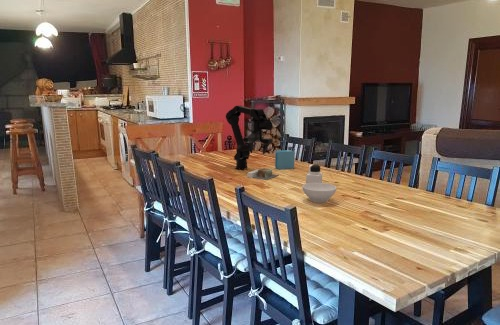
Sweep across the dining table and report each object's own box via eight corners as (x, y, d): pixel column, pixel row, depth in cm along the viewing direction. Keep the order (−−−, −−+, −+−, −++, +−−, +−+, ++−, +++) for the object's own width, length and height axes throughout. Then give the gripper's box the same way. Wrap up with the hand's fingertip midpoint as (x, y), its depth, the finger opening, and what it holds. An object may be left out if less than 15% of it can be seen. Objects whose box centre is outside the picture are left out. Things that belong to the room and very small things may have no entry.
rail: (247, 177, 229) (247, 172, 228) (261, 172, 242) (261, 168, 241) (251, 178, 227) (251, 173, 227) (265, 173, 240) (265, 168, 240)
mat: (252, 177, 228) (252, 177, 228) (264, 173, 240) (264, 173, 240) (267, 180, 223) (267, 179, 223) (278, 175, 234) (278, 175, 234)
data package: (291, 167, 259) (292, 150, 257) (294, 168, 255) (294, 151, 253) (275, 168, 256) (275, 150, 253) (277, 169, 251) (277, 151, 249)
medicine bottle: (322, 185, 210) (322, 164, 207) (318, 188, 203) (319, 166, 201) (309, 184, 213) (310, 163, 210) (305, 187, 206) (306, 165, 204)
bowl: (315, 207, 171) (315, 192, 169) (295, 198, 185) (295, 184, 183) (343, 203, 178) (343, 188, 177) (321, 194, 192) (322, 181, 191)
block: (257, 170, 229) (266, 171, 226) (263, 168, 235) (272, 169, 232) (257, 176, 230) (266, 177, 227) (263, 174, 236) (272, 175, 233)
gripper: (238, 129, 237) (238, 154, 240) (263, 131, 227) (263, 157, 230) (247, 127, 246) (247, 151, 249) (273, 129, 236) (272, 154, 239)
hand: (257, 153), depth 241 cm, fingers open, 9 cm apart
